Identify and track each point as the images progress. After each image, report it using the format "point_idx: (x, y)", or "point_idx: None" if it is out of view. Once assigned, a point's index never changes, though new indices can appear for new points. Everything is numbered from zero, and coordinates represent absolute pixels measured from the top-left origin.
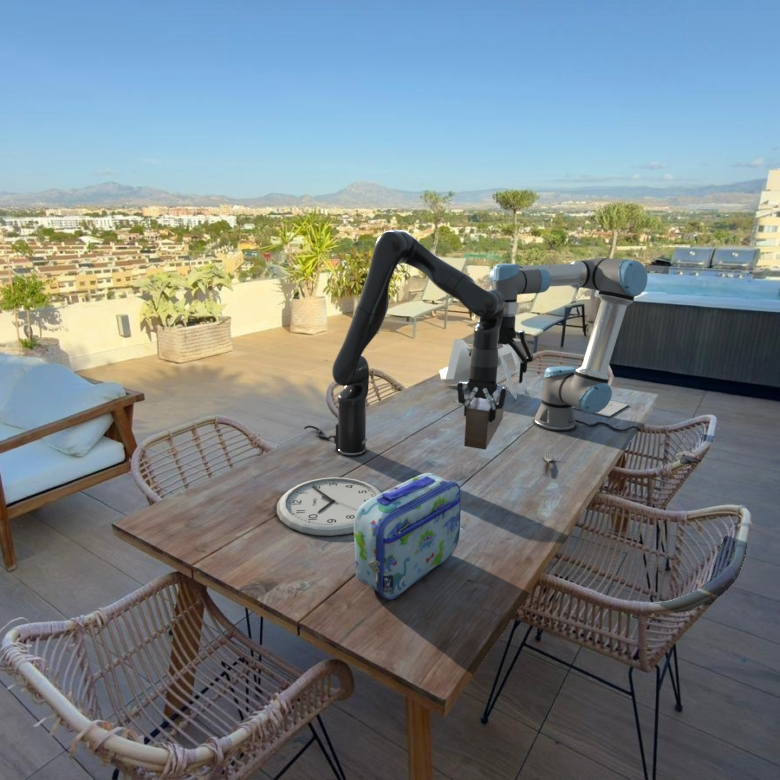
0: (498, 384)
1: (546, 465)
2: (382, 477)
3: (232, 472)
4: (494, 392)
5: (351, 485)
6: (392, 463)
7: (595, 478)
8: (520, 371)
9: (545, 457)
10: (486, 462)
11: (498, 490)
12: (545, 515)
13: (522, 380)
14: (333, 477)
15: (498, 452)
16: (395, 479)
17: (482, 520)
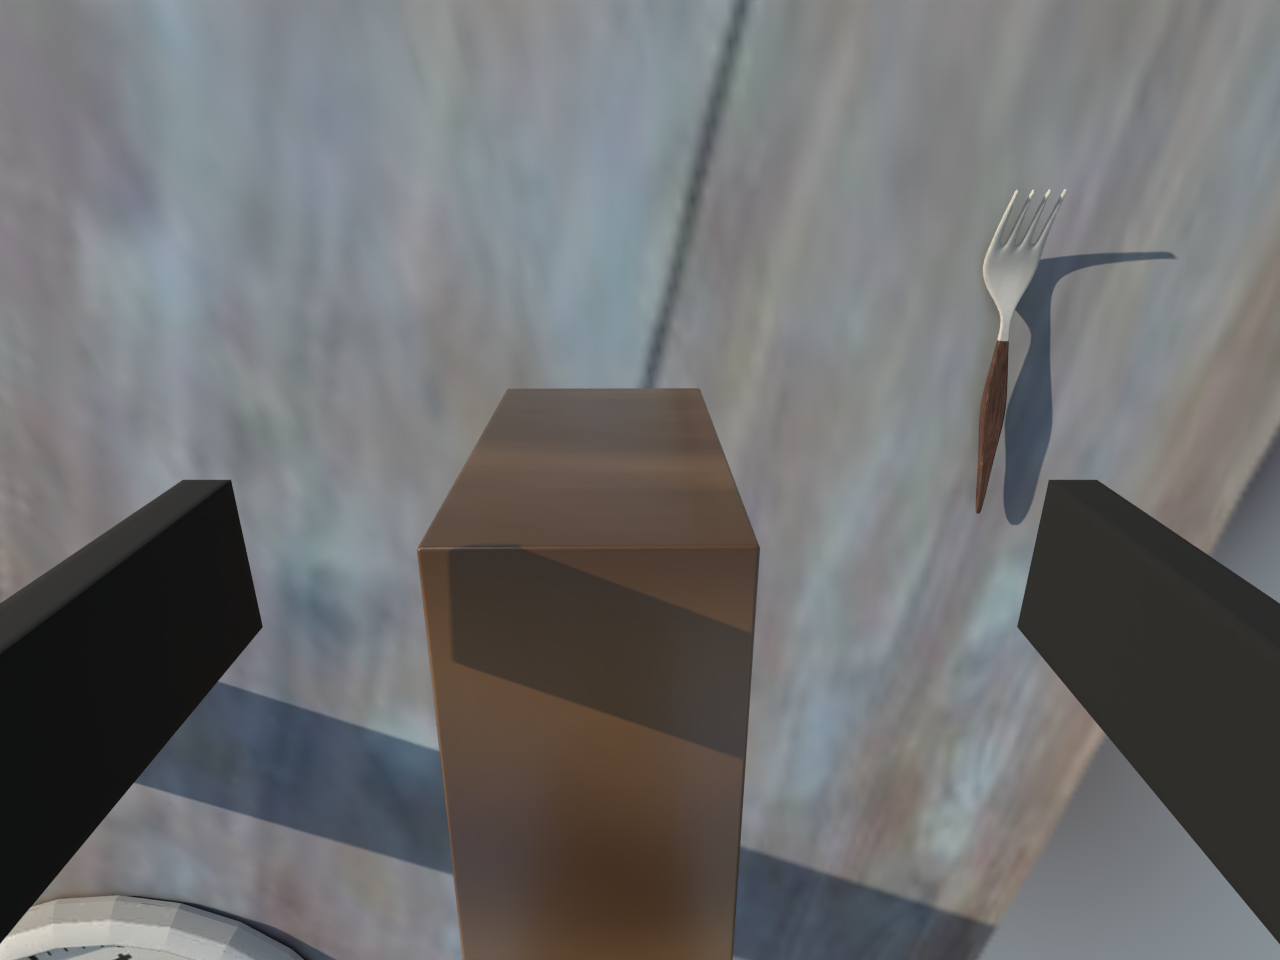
0: (640, 582)
1: (990, 408)
2: (183, 820)
3: None
4: (656, 934)
5: (122, 957)
6: None
7: (1262, 426)
8: (1175, 796)
9: (991, 258)
10: None
11: None
12: (948, 850)
13: (1100, 486)
14: (7, 949)
15: (661, 275)
16: (249, 815)
17: None
